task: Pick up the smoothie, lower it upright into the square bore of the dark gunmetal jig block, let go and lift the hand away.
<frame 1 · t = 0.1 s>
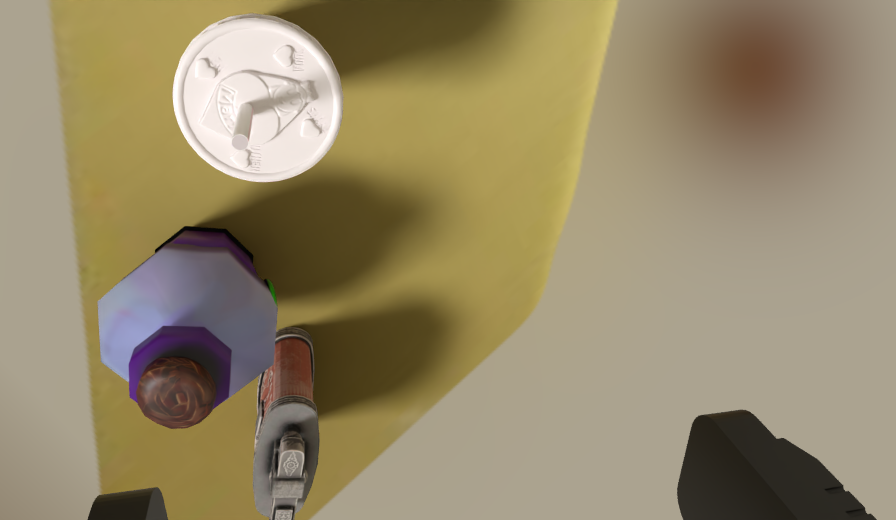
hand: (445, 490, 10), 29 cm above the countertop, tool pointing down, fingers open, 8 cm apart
lighter: (285, 379, 43), on the countertop
potion bottle: (205, 267, 39), on the countertop
smoothie: (266, 57, 34), on the countertop
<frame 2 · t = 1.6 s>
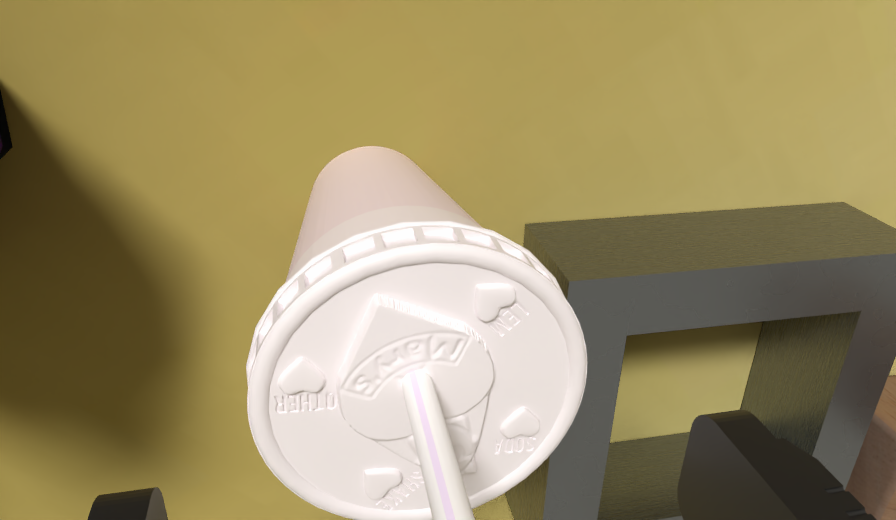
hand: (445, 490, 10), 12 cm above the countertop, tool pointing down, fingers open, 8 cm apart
wooden block: (894, 408, 30), on the countertop
smoothie: (370, 202, 21), on the countertop
jig: (664, 357, 26), on the countertop
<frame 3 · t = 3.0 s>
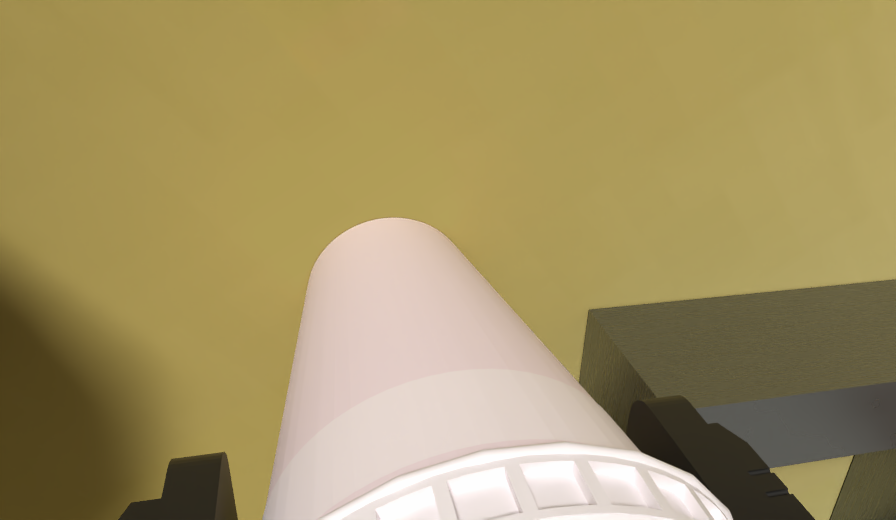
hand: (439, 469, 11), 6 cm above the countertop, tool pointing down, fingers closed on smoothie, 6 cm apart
smoothie: (388, 288, 16), on the countertop, touching gripper
jig: (748, 459, 21), on the countertop
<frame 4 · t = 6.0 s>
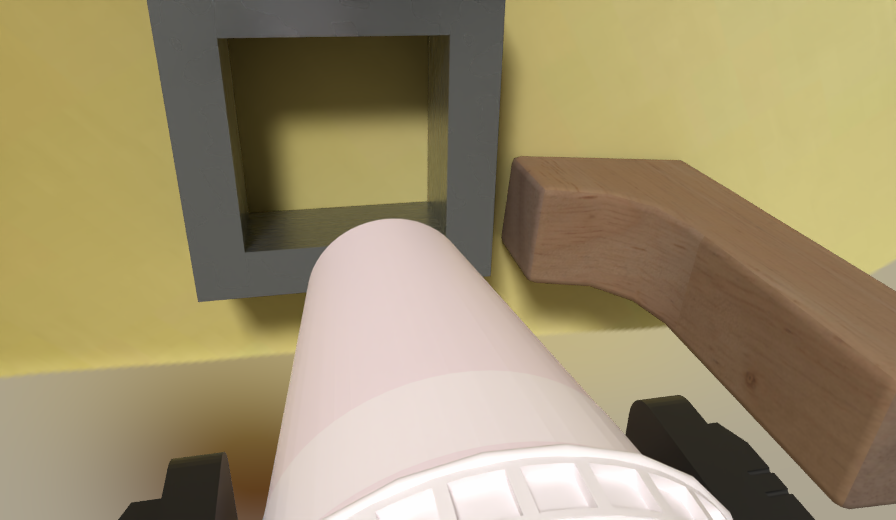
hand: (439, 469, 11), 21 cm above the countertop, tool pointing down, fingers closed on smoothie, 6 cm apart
wooden block: (589, 198, 33), on the countertop
smoothie: (388, 288, 16), point 15 cm above the countertop, touching gripper
jig: (335, 119, 29), on the countertop
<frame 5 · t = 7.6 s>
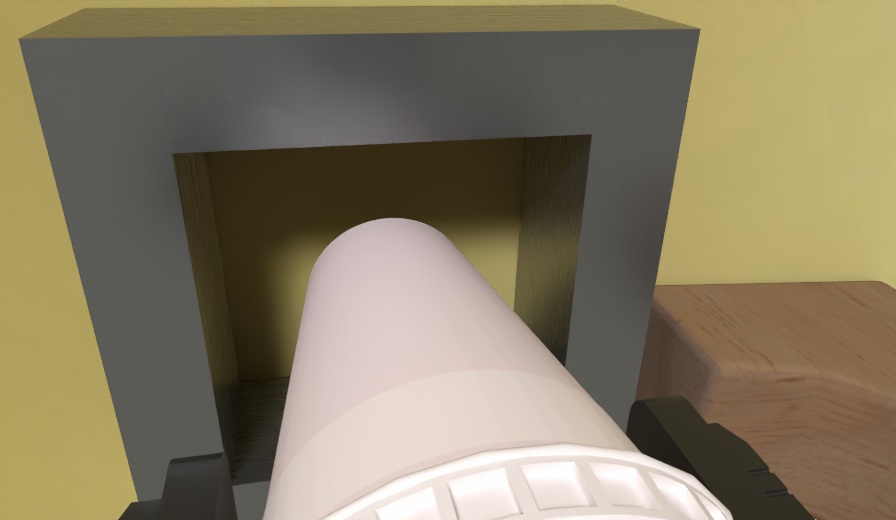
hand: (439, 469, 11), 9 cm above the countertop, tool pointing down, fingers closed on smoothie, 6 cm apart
wooden block: (742, 334, 23), on the countertop
smoothie: (388, 288, 16), point 3 cm above the countertop, touching gripper
jig: (376, 244, 18), on the countertop
when the fingers open (7 cm above the countertop, at t = 9.0 s): smoothie stays where it is, resting in jig.
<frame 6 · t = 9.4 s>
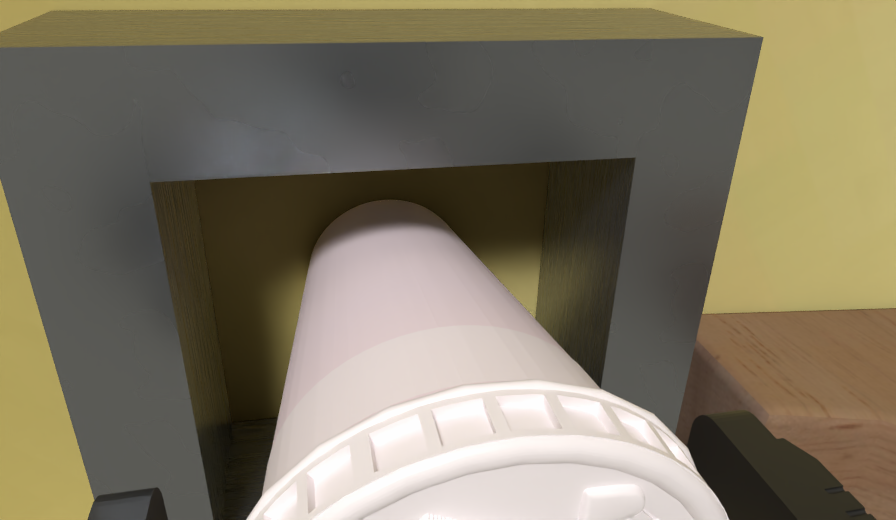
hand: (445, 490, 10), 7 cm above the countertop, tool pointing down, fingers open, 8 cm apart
wooden block: (777, 365, 21), on the countertop
smoothie: (385, 267, 17), resting in jig
jig: (383, 272, 16), on the countertop
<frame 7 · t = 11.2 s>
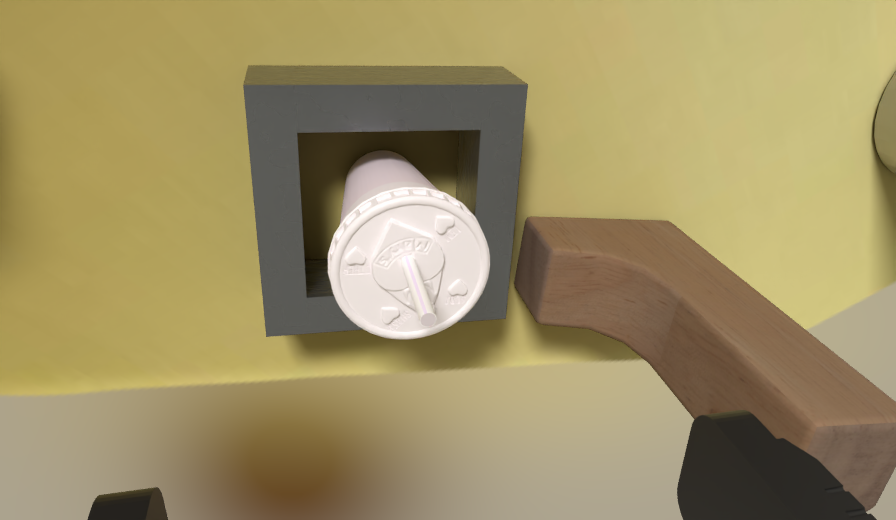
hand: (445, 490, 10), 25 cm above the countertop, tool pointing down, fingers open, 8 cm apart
wooden block: (589, 250, 39), on the countertop
smoothie: (381, 183, 35), resting in jig
jig: (380, 186, 35), on the countertop
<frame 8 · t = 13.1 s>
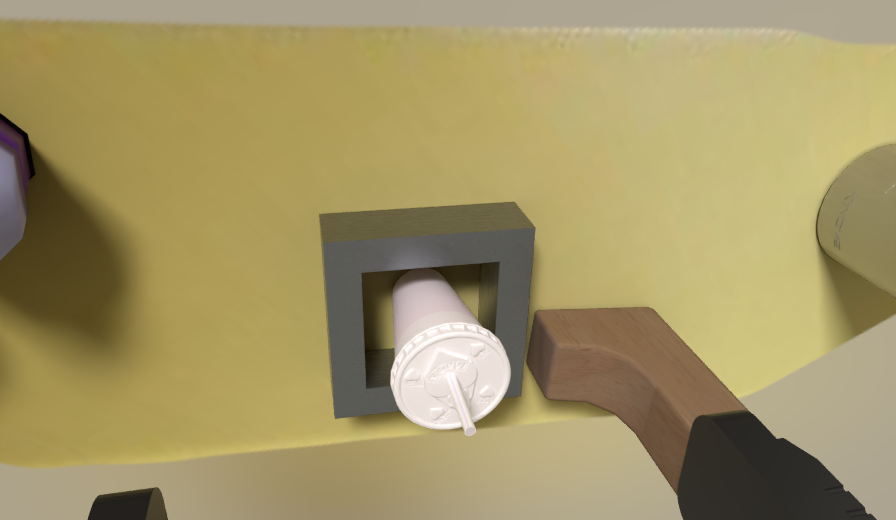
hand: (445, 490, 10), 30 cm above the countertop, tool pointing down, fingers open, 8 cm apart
wooden block: (587, 332, 48), on the countertop
smoothie: (420, 291, 44), resting in jig
jig: (419, 294, 44), on the countertop
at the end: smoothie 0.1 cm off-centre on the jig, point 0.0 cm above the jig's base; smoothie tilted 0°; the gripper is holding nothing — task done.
